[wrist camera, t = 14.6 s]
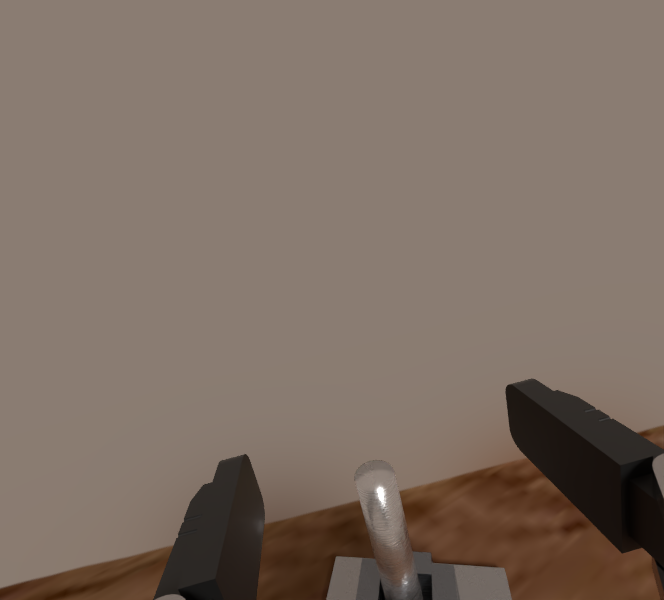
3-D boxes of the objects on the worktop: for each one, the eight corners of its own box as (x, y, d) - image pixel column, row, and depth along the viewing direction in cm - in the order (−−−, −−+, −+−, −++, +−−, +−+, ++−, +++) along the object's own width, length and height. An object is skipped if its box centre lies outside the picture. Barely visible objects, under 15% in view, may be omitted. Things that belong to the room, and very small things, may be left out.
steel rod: (395, 658, 26) (351, 491, 22) (397, 616, 29) (357, 460, 25) (432, 664, 25) (393, 491, 21) (431, 620, 28) (395, 459, 24)
